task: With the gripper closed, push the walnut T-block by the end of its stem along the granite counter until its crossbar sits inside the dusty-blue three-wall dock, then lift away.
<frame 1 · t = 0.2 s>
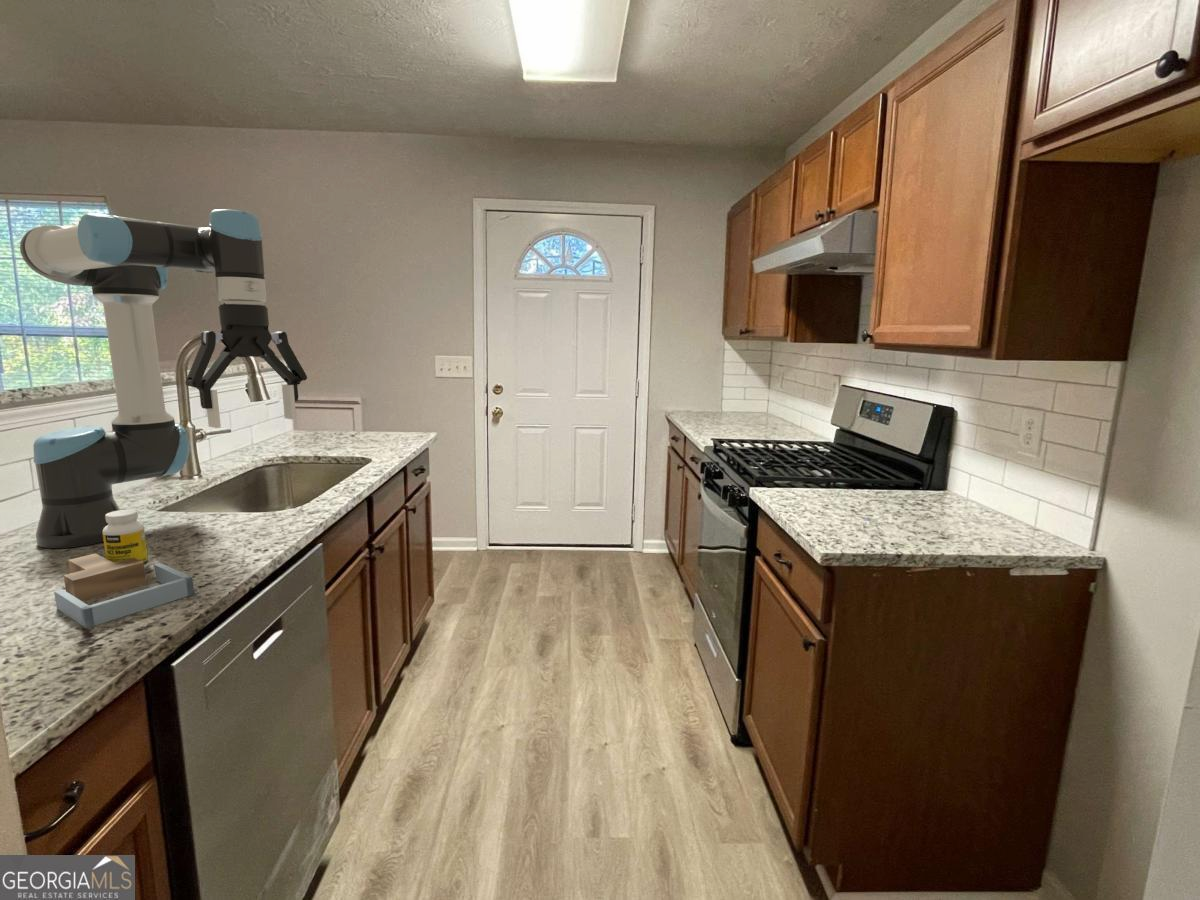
hand: (254, 422, 113), 28 cm above the table, fingers open, 13 cm apart
t block: (98, 585, 109), on the table
dock: (127, 601, 102), on the table
pill bottle: (129, 570, 116), on the table
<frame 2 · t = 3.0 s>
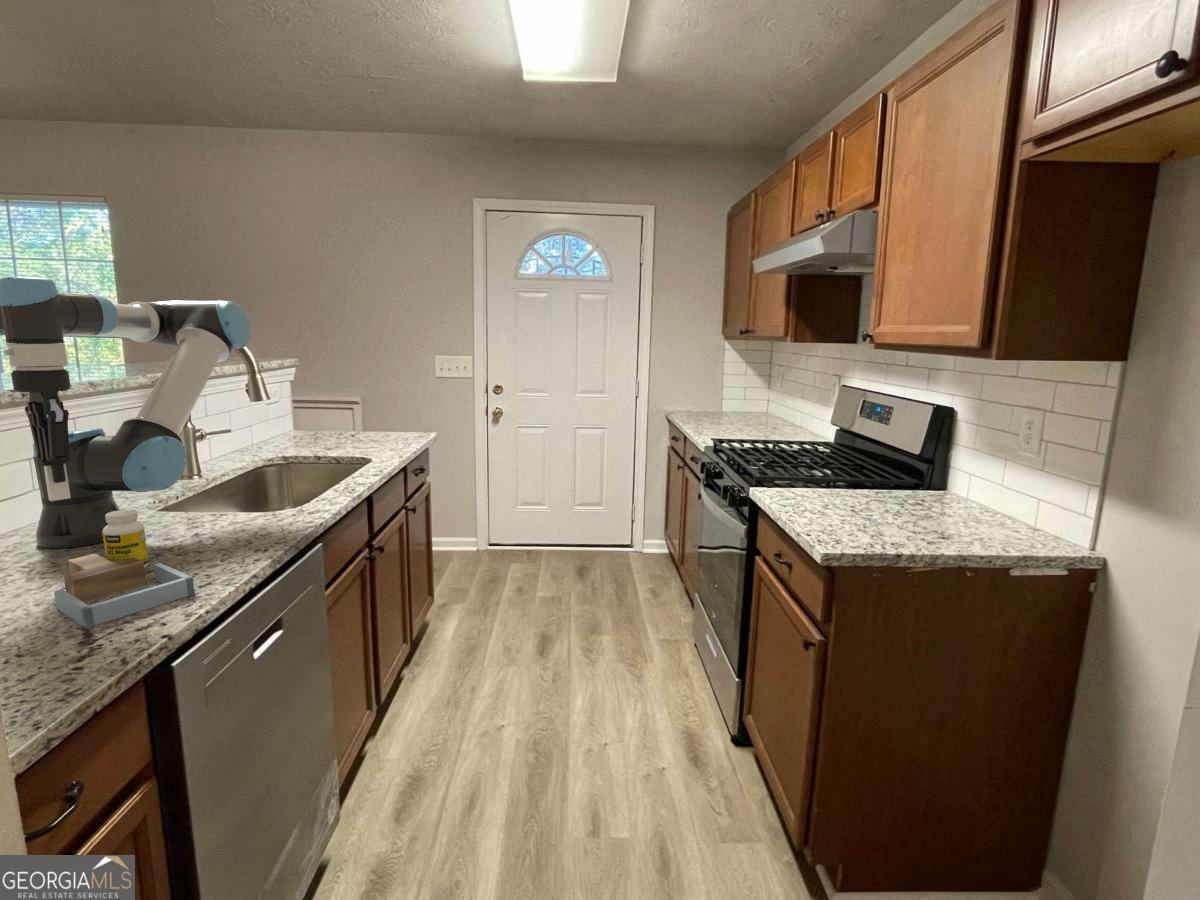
hand: (59, 498, 112), 14 cm above the table, fingers closed
nothing on the table moved.
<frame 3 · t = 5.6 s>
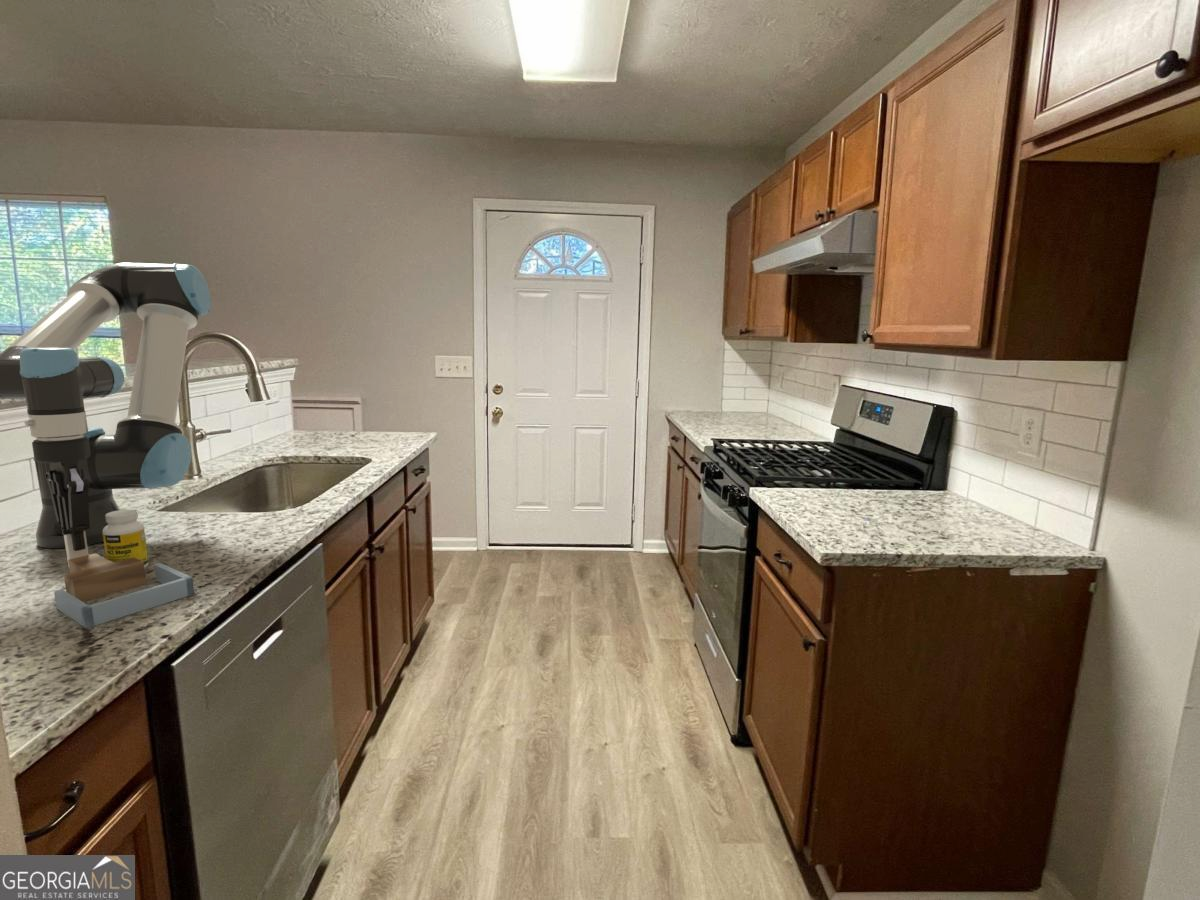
hand: (79, 565, 111), 2 cm above the table, fingers closed
t block: (98, 584, 108), on the table, touching gripper
everything else where it was.
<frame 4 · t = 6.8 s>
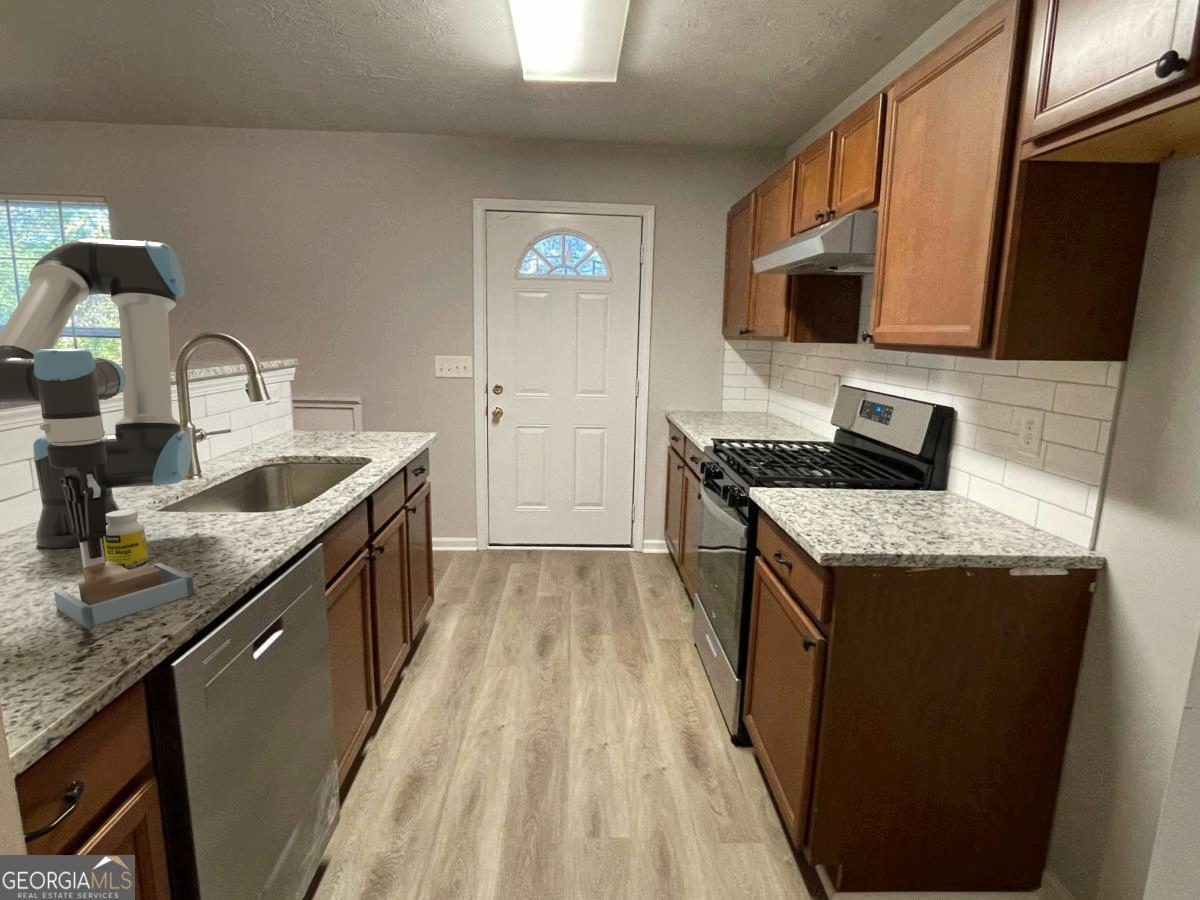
hand: (95, 574, 108), 2 cm above the table, fingers closed
t block: (114, 594, 105), on the table, touching gripper
everything else where it was.
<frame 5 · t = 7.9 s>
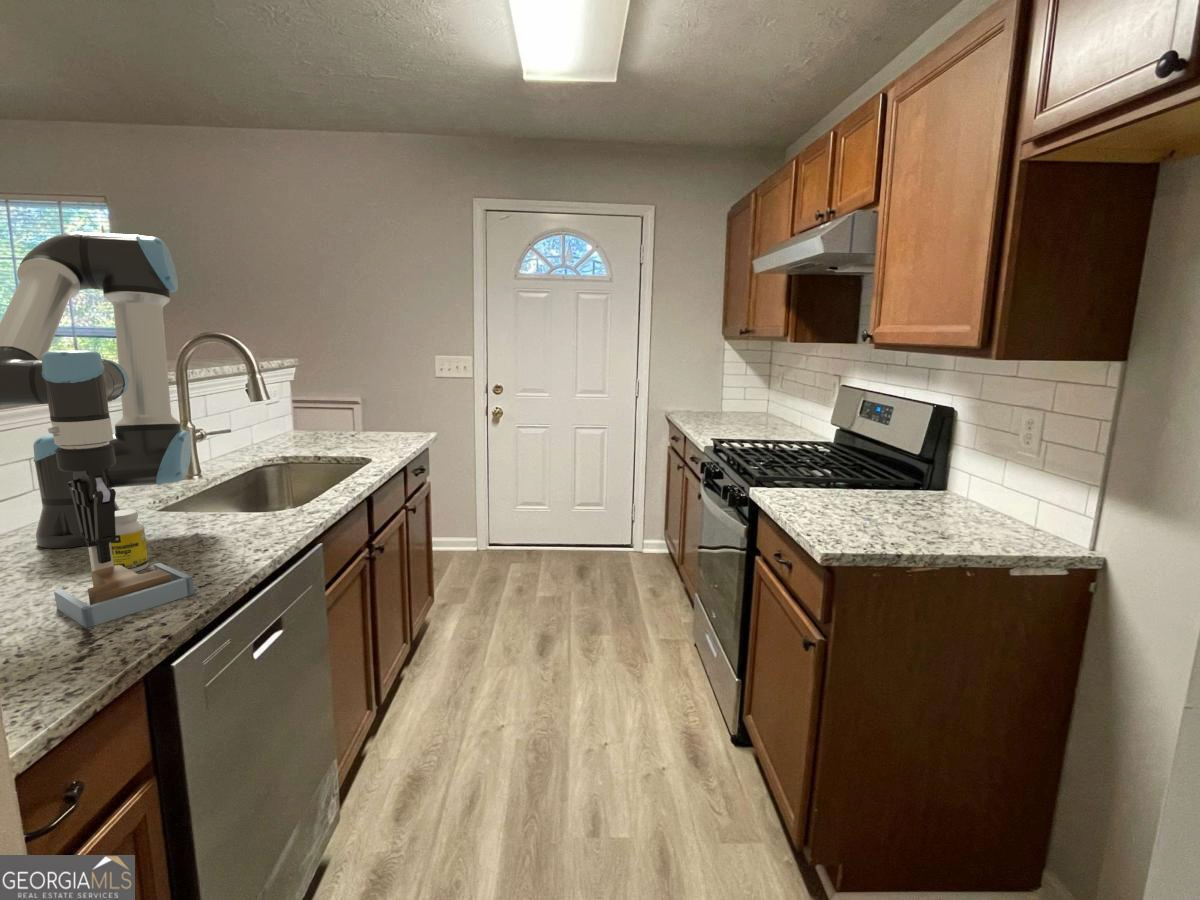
hand: (104, 578, 106), 2 cm above the table, fingers closed
t block: (123, 598, 103), on the table, touching gripper
everything else where it was.
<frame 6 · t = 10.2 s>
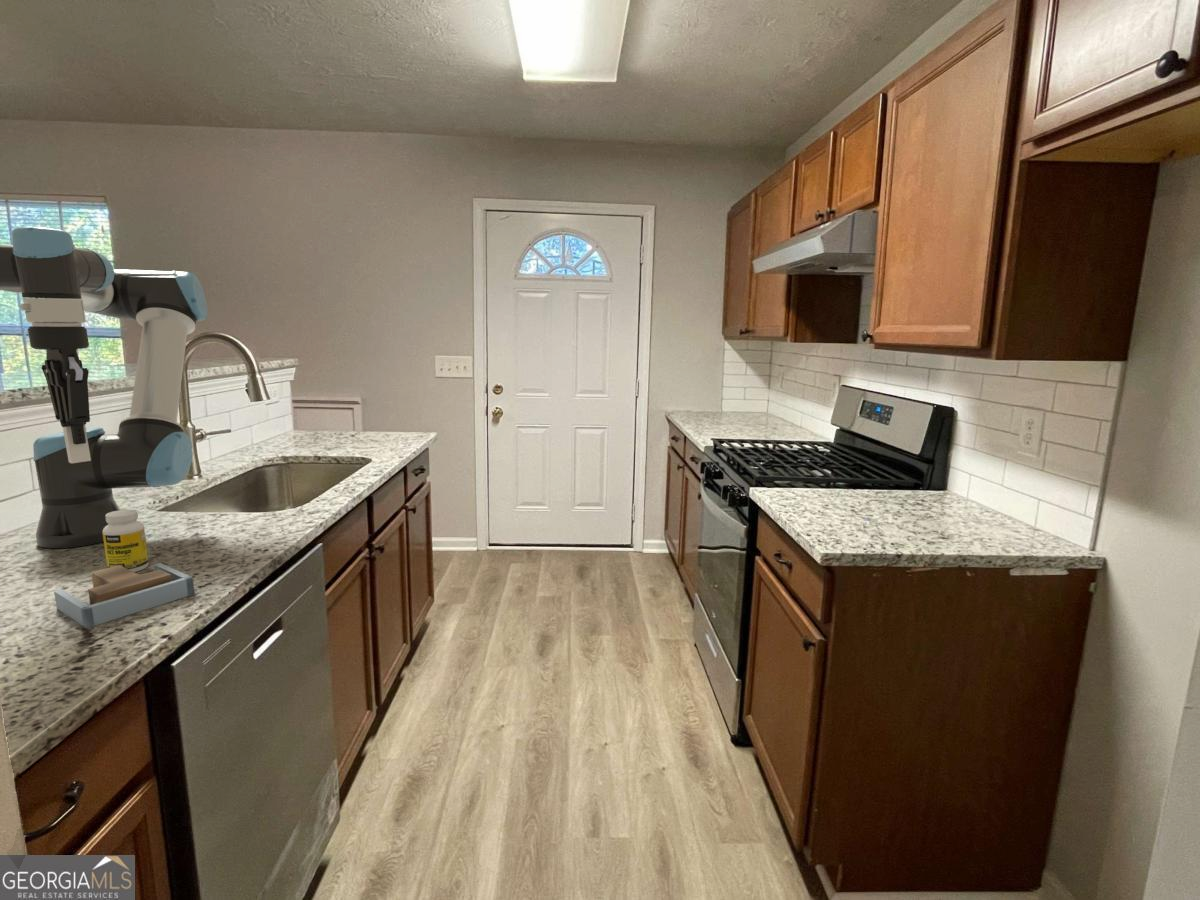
hand: (79, 461, 109), 21 cm above the table, fingers closed
t block: (123, 598, 103), on the table
everything else where it was.
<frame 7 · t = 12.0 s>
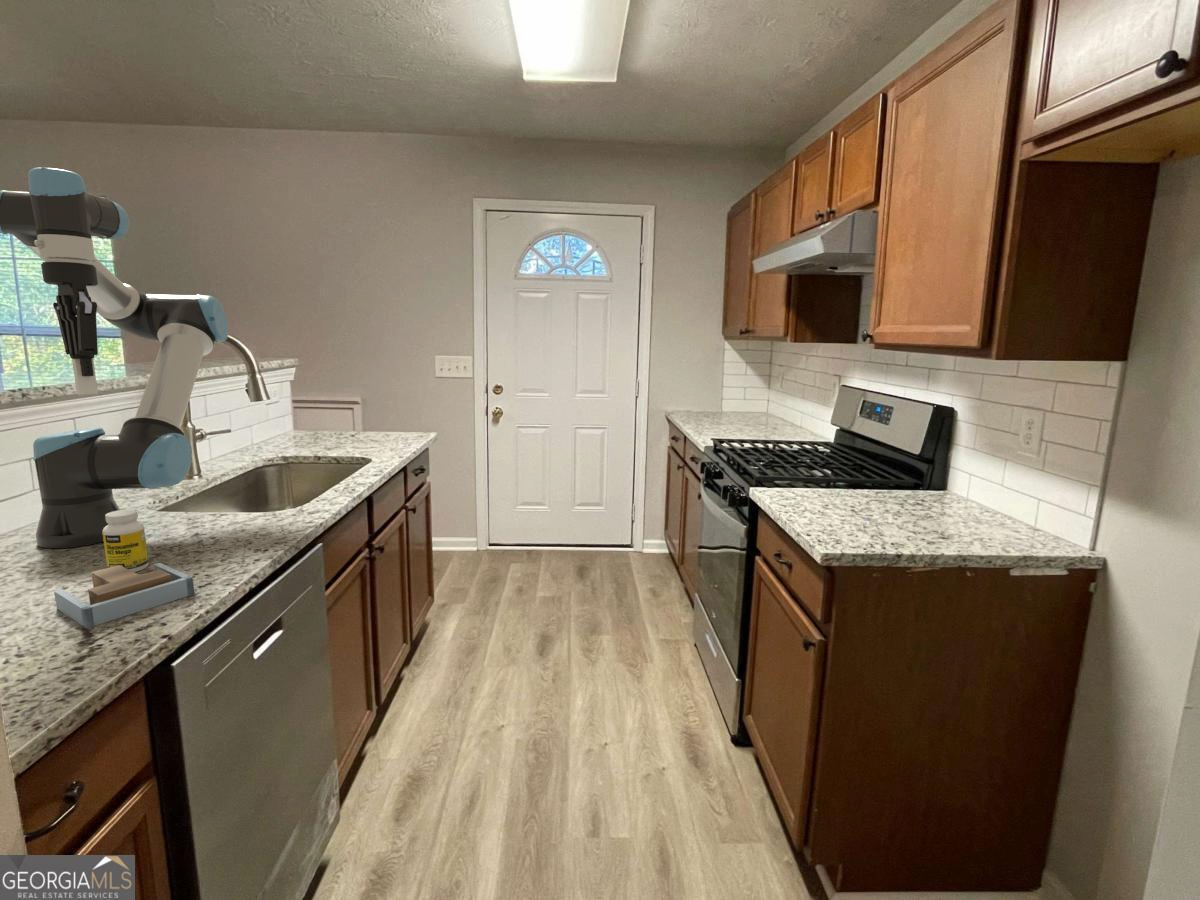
hand: (87, 393, 115), 32 cm above the table, fingers closed
nothing on the table moved.
at the end: t block 0.6 cm from the target spot on the dock, point 0.0 cm above the dock's base; t block tilted 0° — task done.
